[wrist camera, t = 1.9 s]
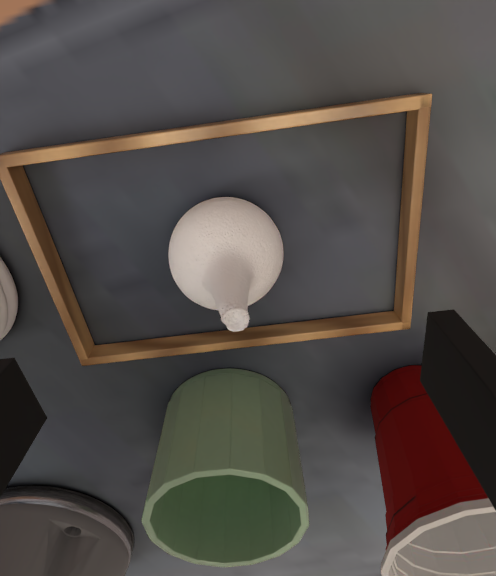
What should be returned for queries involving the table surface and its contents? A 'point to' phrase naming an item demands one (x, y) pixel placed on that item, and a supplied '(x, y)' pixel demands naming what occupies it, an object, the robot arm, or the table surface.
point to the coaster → (7, 300)
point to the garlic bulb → (226, 257)
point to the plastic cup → (428, 487)
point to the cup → (227, 472)
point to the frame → (30, 213)
